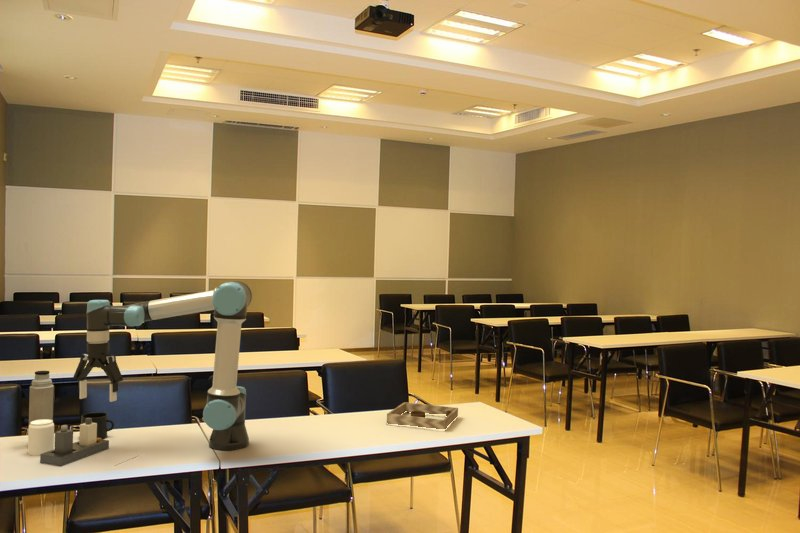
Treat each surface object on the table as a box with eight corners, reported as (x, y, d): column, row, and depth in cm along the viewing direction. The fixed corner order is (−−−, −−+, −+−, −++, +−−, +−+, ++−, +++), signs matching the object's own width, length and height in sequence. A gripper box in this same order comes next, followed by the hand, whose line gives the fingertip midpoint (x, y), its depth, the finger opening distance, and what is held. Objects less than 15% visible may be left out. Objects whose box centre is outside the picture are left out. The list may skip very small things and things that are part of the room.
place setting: (414, 417, 307) (415, 404, 307) (453, 423, 298) (453, 410, 298) (397, 425, 291) (398, 412, 291) (437, 431, 282) (438, 418, 282)
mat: (138, 456, 232) (138, 455, 232) (114, 466, 221) (114, 465, 221) (112, 452, 236) (112, 451, 236) (87, 462, 224) (87, 461, 224)
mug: (111, 440, 251) (112, 417, 251) (78, 441, 248) (78, 418, 248) (115, 433, 260) (116, 411, 260) (83, 434, 257) (84, 412, 257)
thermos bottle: (41, 440, 247) (43, 368, 247) (57, 443, 245) (59, 370, 244) (23, 446, 240) (25, 371, 239) (39, 448, 237) (41, 373, 237)
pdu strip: (89, 448, 240) (89, 435, 240) (108, 451, 237) (109, 438, 237) (40, 465, 219) (40, 452, 219) (60, 469, 216) (60, 455, 216)
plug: (96, 450, 235) (97, 417, 235) (87, 453, 231) (88, 420, 231) (87, 448, 236) (88, 416, 236) (79, 451, 232) (80, 419, 232)
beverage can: (34, 451, 234) (35, 418, 234) (57, 451, 235) (58, 419, 235) (23, 458, 226) (24, 424, 226) (47, 458, 227) (48, 424, 227)
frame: (457, 418, 305) (458, 407, 305) (444, 431, 280) (444, 420, 280) (403, 412, 313) (404, 402, 313) (386, 424, 288) (387, 413, 288)
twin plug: (72, 458, 224) (73, 424, 224) (63, 462, 221) (64, 427, 220) (63, 457, 226) (64, 423, 225) (54, 460, 222) (55, 426, 222)
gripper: (133, 342, 234) (133, 399, 234) (78, 339, 241) (78, 394, 242) (118, 345, 227) (118, 404, 227) (62, 341, 234) (62, 399, 235)
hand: (98, 399), depth 234 cm, fingers open, 13 cm apart
